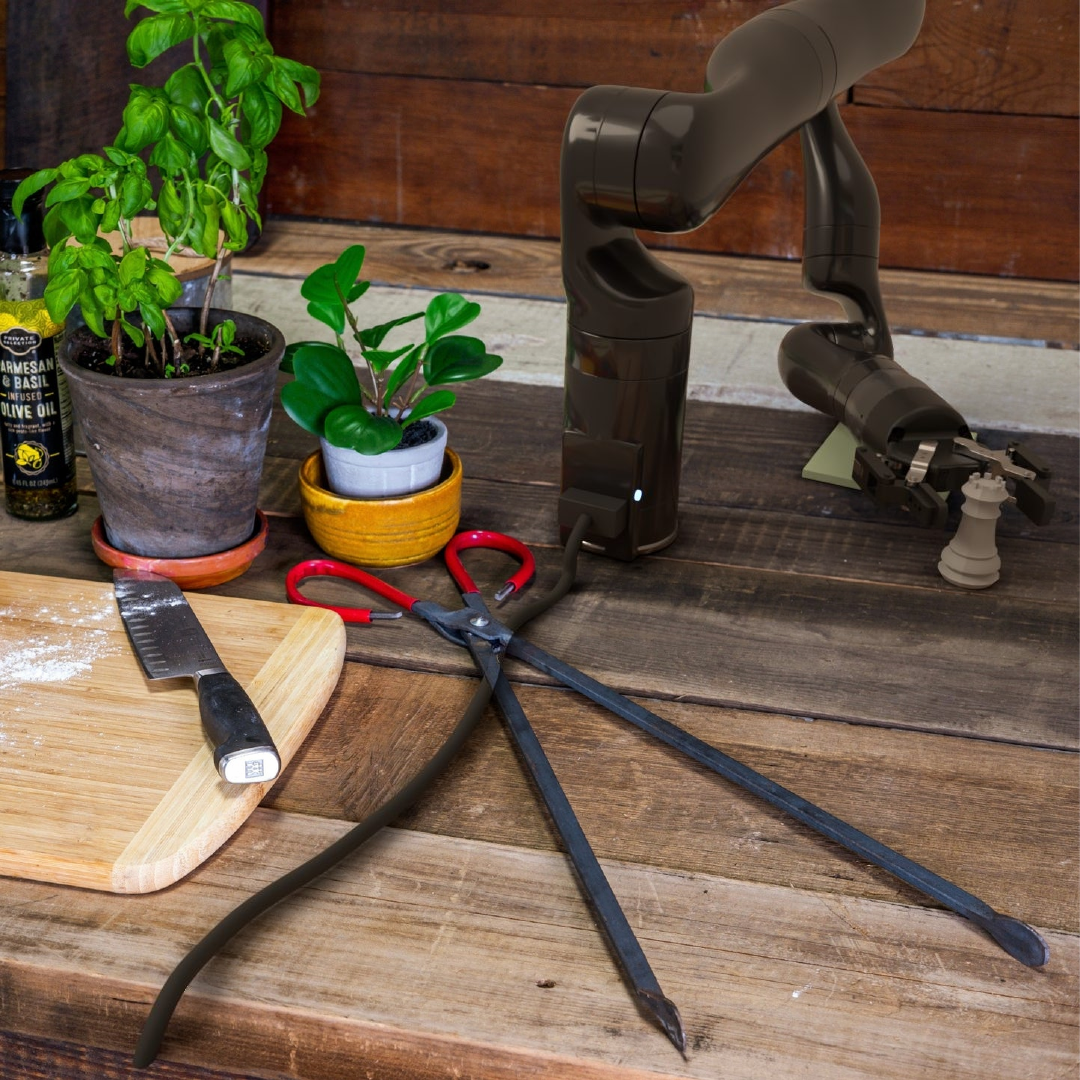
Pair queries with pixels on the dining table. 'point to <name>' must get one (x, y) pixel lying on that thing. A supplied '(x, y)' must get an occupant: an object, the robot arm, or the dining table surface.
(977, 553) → the rook chess piece
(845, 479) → the mat
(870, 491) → the robot arm
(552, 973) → the dining table surface
